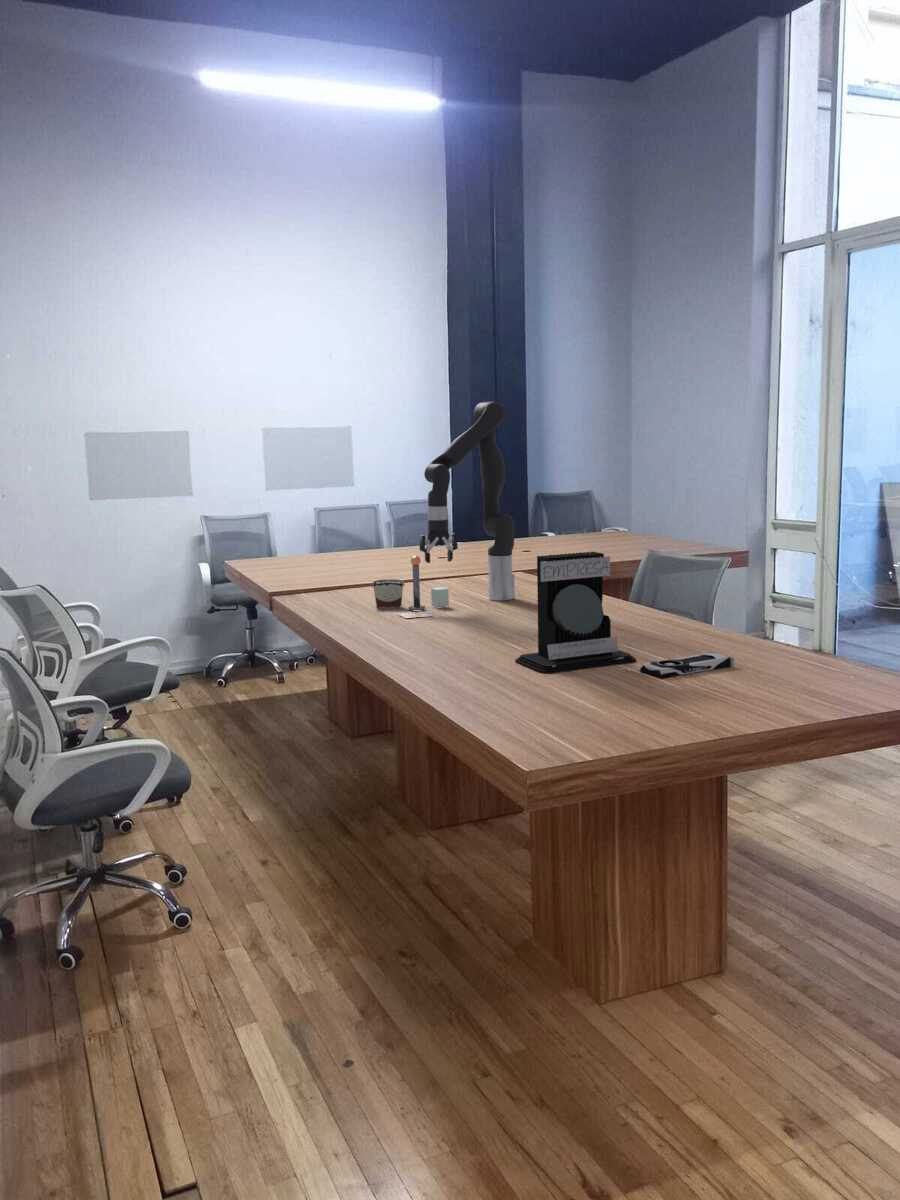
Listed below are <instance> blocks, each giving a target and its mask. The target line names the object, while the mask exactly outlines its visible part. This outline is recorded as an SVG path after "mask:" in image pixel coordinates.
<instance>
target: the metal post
mask: <svg viewBox="0 0 900 1200" xmlns="http://www.w3.org/2000/svg"><path fill="white" fill-rule="evenodd" d="M410 563H411V565H412V588H413V589H412V590H413V592H412V594H413V595H412V597H413V605H410V606H408V611H409V610H424V609H425V610H426V605H422V604H421V588H420V585H421V584H420V583H421V581H420V564H421V558H420V557H419V556H418V555H417V556H416V555H413V556H412V557H411V559H410ZM425 610H424V611H425Z"/></svg>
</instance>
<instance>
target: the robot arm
mask: <svg viewBox="0 0 900 1200" xmlns="http://www.w3.org/2000/svg"><path fill="white" fill-rule="evenodd" d="M505 417H506V410H505V407H504V406H503V405H502V404H501V403H500V402H498V401H482V402H479V403H478V404H477V405H476V406H475V408H474V410H473V420H474V424H473V425H472V426H471V427H470V428H468V429H467V430H466V431H464V432H463V433H462V434H460V435H459V436H458V437H456V438H455V439H454V440H453V441H451V443H450V445H449V446H447V448H446V449H445V450H444V451H443V453H441V454H440V455H438V456H437V457H436V458H435V459H433V460H432V461H430V463H428V465H427V466H426V468H425V470H424V473H423V474H424V478H425V480H426V481H427V482H428V483H431V484H432V489H431V490H430V491H429V492H428V495H427V505H428V507H427V508H428V509H427V531H428V532H427V534H426V535H424V534H420V536H419V551H420V552H423V553H424V561H425V562H426V563H427V564H430V563H431V553H430V552H431V551H432V549H433V548H434V547H439V546H440V547H442V546H444V547H445V548H446V549H447V562H452V560H453V559H454V551H456V550H458V536H457V533H455V532H452V533H449V510H448V509H449V508H448V491H449V489H450V483H451V482H450V481H451V472H450V469H452V468H456V466H458V465H459V464H460V463H461V462H462V461H463V460H464V458H465V457H466V456H467V455H468V454H469V453H470V452H471V450H472V449H473V448H474V447H475V446H476V445H477V444H478V451H479V454H478V455H479V463H480V465H479V466H480V475H481V476H480V477H481V478H480V479H481V485H482V498H483V499H482V501H483V502H482V503H483V509H482V510H483V511H482V513H483V515H482V516H483V517H482V520H483V521H482V522H483V523H482V525H483V529H484V533H486V534H487V535H488V536H489V537H493V538H494V543H493V545H491V546H490V547H488V550H487V555H488V558H487V559H488V561H487V564H488V599H489V600H490V601H497V602H498V601H500V602H502V601H510V600H515V599H516V594H515V592H516V591H515V590H516V589H515V588H516V587H515V583H516V582H515V581H516V580H515V574H514V573H513V550H514V547H515V528H516V527H515V521H514V518H513V516H511V515H510V514H508V513H501V509H500V507H501V506H500V497H501V494H502V492H503V488H504V485H505V482H506V466H505V465H506V464H505V460H504V459H505V458H504V457H503V454H502V452H501V450H500V447H499V445H498V443H497V440H496V435H495V429H496V428H497V427H498V426H499V425H501V423H502V422H503V421H504V420H505ZM427 539H428V542H427V544H426V541H427ZM449 539H450V540H451V544H450V542H449V541H448V540H449Z"/></svg>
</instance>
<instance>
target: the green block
mask: <svg viewBox="0 0 900 1200" xmlns="http://www.w3.org/2000/svg"><path fill="white" fill-rule="evenodd" d="M430 590H431V591H430V592H431V593H430V594H431V596H430V597H431V598H430V599H431V607H432V606H434V607H436V608H435V609H438V608H437V607H446V606H449V607H450V603H449V602H450V600H449V599H450V597H449V595H450V594H449V588H447V587H444V586H441V587H439V586H438V587H430ZM434 607H433V608H434Z"/></svg>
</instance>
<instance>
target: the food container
mask: <svg viewBox="0 0 900 1200" xmlns="http://www.w3.org/2000/svg"><path fill="white" fill-rule="evenodd" d="M405 586H406V585H405V583H404V580H402V579H396V578H388V579H377V580H374V581H373V582H372V584H371V588H373V593H374V600H375V606H376V608H377V607H400V606H401V607H402V605H403V604H402V601H403V590H404V588H405Z"/></svg>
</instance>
